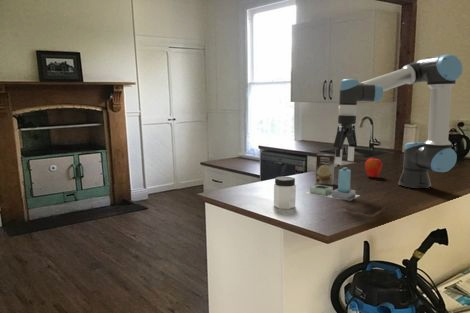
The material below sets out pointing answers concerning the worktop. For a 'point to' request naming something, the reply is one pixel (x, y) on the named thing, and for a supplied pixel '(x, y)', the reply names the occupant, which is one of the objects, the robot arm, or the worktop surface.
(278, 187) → the jar
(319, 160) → the coffee box
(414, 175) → the robot arm
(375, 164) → the apple
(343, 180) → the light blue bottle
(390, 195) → the worktop surface
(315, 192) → the panel
